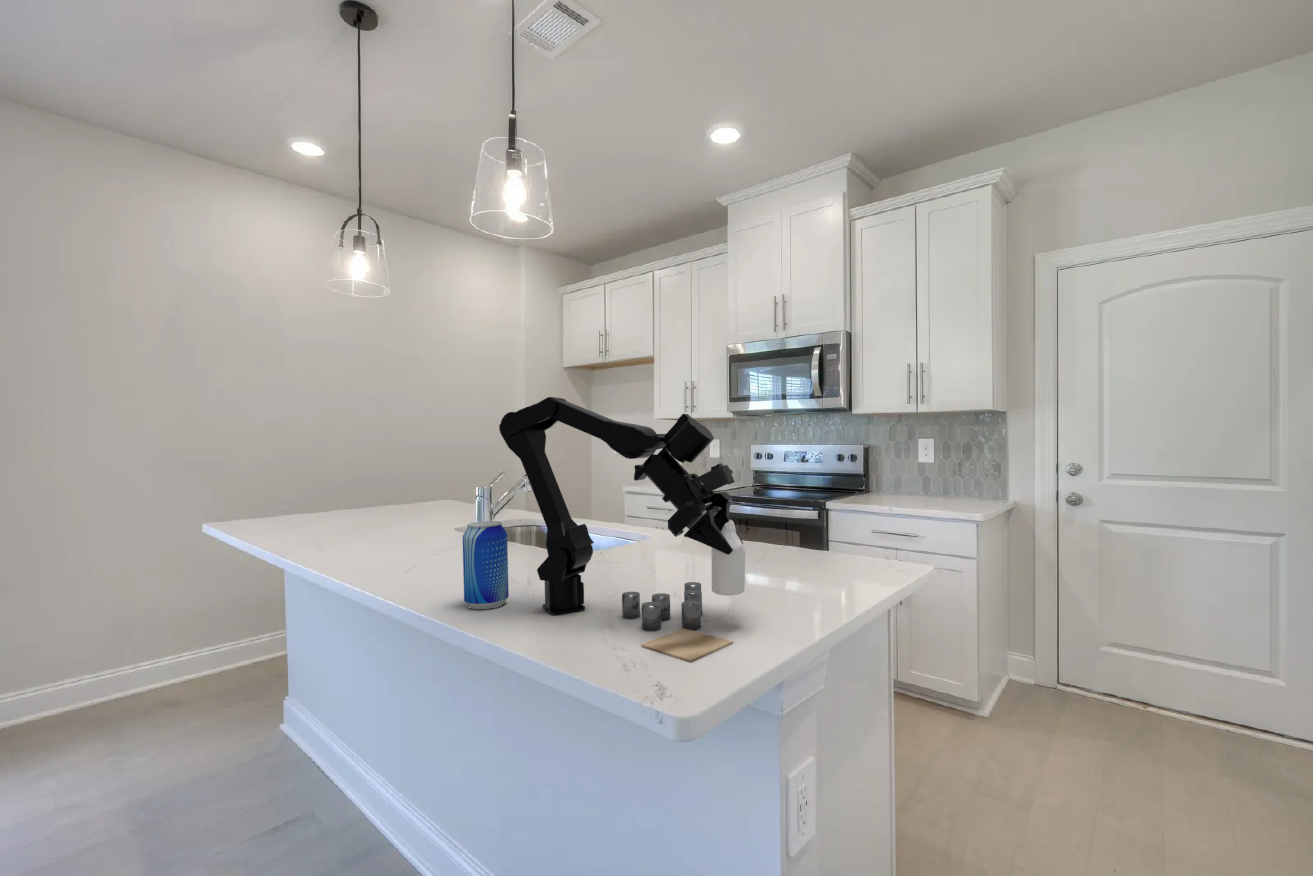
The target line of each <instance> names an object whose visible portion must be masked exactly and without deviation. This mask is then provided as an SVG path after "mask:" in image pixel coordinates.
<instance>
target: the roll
mask: <svg viewBox="0 0 1313 876" xmlns="http://www.w3.org/2000/svg"><path fill="white" fill-rule="evenodd" d="M735 525H736V524H735V522H734V521H733V520H732V519H731V520H729V522H727V523H725V525H724V526H723V528H722V530H721V533H722V534H723V536H724V537H725V539H726V540H727V541H728V543H729V544H730V546H731V547H732V549H733V551H732V552H731V553H730V554H729V555H728V554H725V553H723V552H721V551H719V550H716V549H714V548H712V547H711V591H712V593H714V594H716V595H720V596H735V595H736V596H737V595H741V594H743V593H745V582H746V549H745V546H744V543H743V544H742V542H743V541H742V542H741V541H740V539H739V537H738V536H737V534H736V531H737V529H736V526H735Z"/></svg>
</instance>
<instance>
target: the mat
mask: <svg viewBox="0 0 1313 876" xmlns="http://www.w3.org/2000/svg"><path fill="white" fill-rule="evenodd" d="M733 643H734V641H733V640H729V639H726V638H725V639H724V638H721V637H717V636H713V635H711V634H707V633H702V632H700V631H696V630H688V629H684V628H681V629H678V630H675V631H673V632H670V633H668V634H665V635H663V636H660V637H657V638H655V639H652V640H649V641H647V642H645V643H641V644H640V645H641V647H642V648H644V649H648V650H650V651H653V652H654V651H655V652H657V653H662V654H664V655H667V656H670V657H673V658H676V659H679V660H682V661H686V662H689V663H693V662H695V661H698V660H699V659H702V658H704V657H706V656H708V655H710V654H713V653H715V652H717V651H719V650H721V649H724V648H726V647H728V646H731V645H733Z"/></svg>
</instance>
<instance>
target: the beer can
mask: <svg viewBox="0 0 1313 876" xmlns="http://www.w3.org/2000/svg"><path fill="white" fill-rule="evenodd" d="M466 525H467V528H466V530H465V531H464V533H463V535H462V565H463V566H462V567H463V569H462V570H463V573H462V574H463V601H464V603H465V604H466V605H467V607H468V606H469V607H470V608H474V609H473V610H475V609H486V610H490V609H489V608H493V609H495V608H494V607H497V606H500V605H502V604H504V603H505V604H506V602H507V600H508V599H509V559H508V558H509V557H508V555H509V553H508V552H509V551H508V532H507V531H506V529H505V528H504V526H503V522H502V521H499V520H498V521H497V520H486V521H485V520H484V521H476V522H470V523H467V524H466ZM505 604H504V605H505ZM469 607H468V608H469ZM500 607H501V606H500ZM470 608H469V609H470ZM497 608H498V607H497Z"/></svg>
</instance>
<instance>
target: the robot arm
mask: <svg viewBox="0 0 1313 876" xmlns="http://www.w3.org/2000/svg"><path fill="white" fill-rule="evenodd" d="M558 422H559V423H562V424H564V425H567V426H569V427H571V428H574V429H576V430H578V431H581V432H583V433H586V434H587V435H591V436H593V437H595V438H596V439H600V440H601V441H603V442H604V443H606V445H608V447H609V448H610V449H611V450H613V451H614V452H616V453H618V455H621V457H623V458H625V459H628V460H634V459H645V458H647V459H646V460H645V461H644V462H643V463H642V464H635V465H634V474H633V480H634V481H635V482H637V481H641V480H642V481H643V480H645V479H646V478H648V479H649V480H650V481H651V482H652V484H654V486H656V488H657V489H658V490H659V491H660V493H661V494H662V495H663V496H662V497H661V499H662V500H663V501H664V503H669V502H670V504H672V506H673V507H675V509H676V511H675V512H674V513H673V514H672V515H671V517H669V518H668V519H667V529H668V530H669V532H670V533H672V535H673V536H674V537H675V538H676V537H678V536H681V535H682V534H683V533H684V529H686V528H687V529H688V530H687V531H686V532H685V533H684V535H683V537H684V538H689V539H691V540H694V541H696V542H699V543H701V544H702V545H703V544H704V545H705V546H708V547H710V548H711V549H712V548H714V549H716V550H719V551H721V552H723V553H725V554H728V555H729V554H730V553H731V552H732V551H733V549H732V547H731V546H730V544H729V543H728V541H727V540H726V539H725V537H724V536H723V534H722V533H721V530H722V528H723V526H724V525H725V523H727V522H729V520H732V519H731V517H730V507H731V502H732V501H733V497H732V496H731V495H730V494H729V493H728V491H720V490H719V491H717V492H715V490H717V489H719V488H722V487H723V486H727V485H731V484H733V483H735V479H734V476H733V473H734V472H733V469H731V468H730V467H729V465H727V464H725V465H724V464H722V463H721V462H720V463H717V464H716V465H714V466H711V467H710V470H709V471H707V472H705V473H703V474H700V475H698V474H696V473H689V472H688V471H687V470H686V469H685V468H684V467H683V466H682V464H681V463H683V464H684V463H685V462H687V463H693V462H694V461H695V460H696V459H697V458H698V457H699V455H700V454H701V453H702V452H703V451H705V449H706V448H707V447H708V446H709V445H710V444H711V443H712V442H713V441H714V439H715V437H714V435H713V434H712V432H711V431H710V430H709V429H708V428H707V427H706V426H705V425H703V424H702V423H700V422H699V421H698V420H696V419H694V418H693V417H692V416H691V415H690V414H689V413H682V414H681V415H680V416H679V417H678V419H677V421H675V423H674V424H673V426H672V427H671V428H670V429H669V430H668V431H667V432H666V433H657V432H656V431H655V430H654V429H653V428H651V427H649V426H645V425H640V424H635V423H628V422H623V421H618V420H614V419H611V418H610V417H606V416H604V415H601V414H599V413H597V412H594V411H592V410H589V409H587V408H584V407H582V406H579V405H578V404H577V405H576V404H575V403H573V402H570V401H568V400H566V398H563V397H555V396H554V397H553V396H548V397H546V398H544V399H542V400H540V401H539V402H537V403H534V404H532V405H528V406H526V407H523V408H521V409H519V410H517V411H510V412H507V413H506V414H505V415H504V416H502V418H501V420H500V424H499V425H498V426H499V428H498V429H499V433H500V436H501V437H502V439H503V441H504V442H505V444H506V446H507V448H508V449H509V450H510V451H511V452H512V453H513V454H515V456H516V457H518V459H519V460H520V461H521V464H522V466H523V469H524V470H523V471H524V472H525V474H526V477H527V479H528V482H529V485H530V487H531V490H532V493H533V495H534V498H535V500H536V502H537V505H538V508H539V510H540V513H541V516H542V518H543V521H544V523H545V525H546V538H545V539H546V541H545V548H546V552H547V555H548V556H547V557H546V558H545V560H544V561H543V562H542V563H541V564H540V565H539V566H538V567H537V569H536V572H537V576H538V578H539V580H540V581H544V603H543V604H542V605H541V606H542V608H543V609H544V610H545V611H547V612H548V613H549V614H551V616H552V615H553V616H554V615H560V614H567V613H573V612H578V611H583V610H586V606H584V604H585V585H584V582H583V581H582V575H581V573H584V572H585V571H586V568H587V565H588V563H590V561H591V560H592V556H593V554H594V549H593V544H594V542H595V541H593V539H592V538H591V536H590V534H589V529H588V527H587V524H586V523H583V524H577V522H576V521H575V520H573V519H572V516H571V514H570V511H569V510H568V506H567V503H566V502H565V499H564V495H563V494H562V492H561V489H560V486H559V484H558V481H557V478H556V476H555V474H554V470H553V469H552V466H551V464H550V461H549V458H548V456H547V453H546V442H547V435H546V431H547V430H549V429H551V428H552V427H553V426H554V425H556V423H558ZM657 450H659V451H658V453H657V454H655V453H656V451H657ZM736 534H737V536H738V537H739V539H740V541H741V542H742V544H743V545H744V542H743V540H742V538H741V536H740V534H739V533H738V530H736Z"/></svg>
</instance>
